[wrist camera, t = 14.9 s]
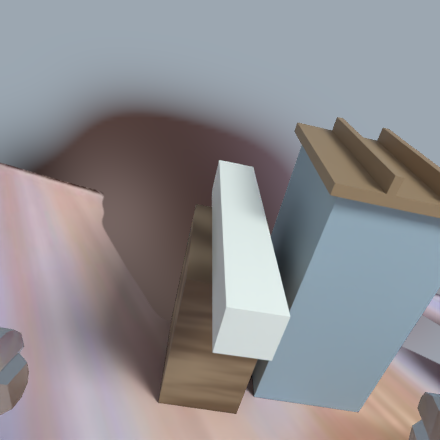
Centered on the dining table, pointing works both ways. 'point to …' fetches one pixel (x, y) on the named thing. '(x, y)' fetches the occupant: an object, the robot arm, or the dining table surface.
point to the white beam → (244, 269)
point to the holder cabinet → (351, 264)
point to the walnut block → (200, 335)
